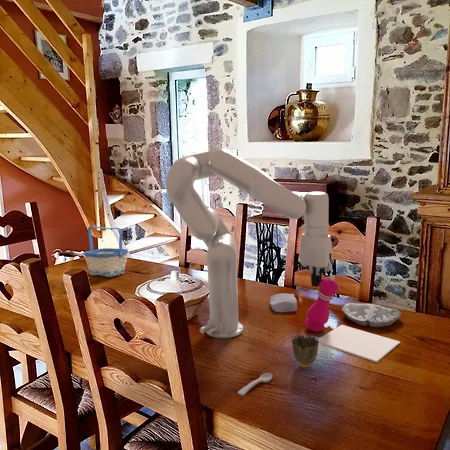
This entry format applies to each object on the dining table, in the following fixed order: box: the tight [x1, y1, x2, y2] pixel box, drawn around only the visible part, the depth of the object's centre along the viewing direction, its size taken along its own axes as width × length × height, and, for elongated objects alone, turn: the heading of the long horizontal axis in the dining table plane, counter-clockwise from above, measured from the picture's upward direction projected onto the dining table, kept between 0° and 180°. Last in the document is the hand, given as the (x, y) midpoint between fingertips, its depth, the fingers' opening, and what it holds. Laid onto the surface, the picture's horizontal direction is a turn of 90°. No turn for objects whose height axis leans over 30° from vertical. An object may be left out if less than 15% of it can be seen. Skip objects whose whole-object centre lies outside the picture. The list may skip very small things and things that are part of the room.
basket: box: [83, 225, 129, 278], centre depth 218 cm, size 21×16×24 cm
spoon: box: [237, 372, 273, 396], centre depth 118 cm, size 3×12×2 cm, turn 133°
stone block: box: [269, 292, 298, 313], centre depth 172 cm, size 12×5×10 cm
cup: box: [291, 334, 320, 370], centre depth 126 cm, size 8×7×8 cm
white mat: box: [317, 324, 401, 363], centre depth 140 cm, size 16×20×1 cm
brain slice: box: [341, 302, 402, 328], centre depth 157 cm, size 20×17×3 cm
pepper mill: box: [304, 274, 339, 333], centre depth 147 cm, size 7×7×20 cm
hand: (316, 285), depth 148 cm, fingers closed
